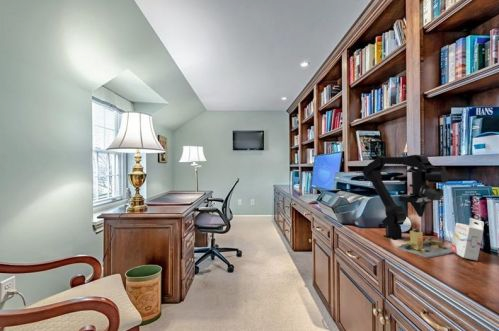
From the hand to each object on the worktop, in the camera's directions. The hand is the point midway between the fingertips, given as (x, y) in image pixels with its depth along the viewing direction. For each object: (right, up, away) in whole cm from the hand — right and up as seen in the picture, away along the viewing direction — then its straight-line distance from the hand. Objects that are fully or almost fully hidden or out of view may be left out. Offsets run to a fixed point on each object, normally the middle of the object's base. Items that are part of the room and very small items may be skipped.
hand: (420, 216), depth 113 cm
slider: (-7, -12, -8) cm, 16 cm away
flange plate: (-2, -13, -8) cm, 15 cm away
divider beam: (-3, -12, -6) cm, 14 cm away
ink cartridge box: (+5, -12, -16) cm, 21 cm away
